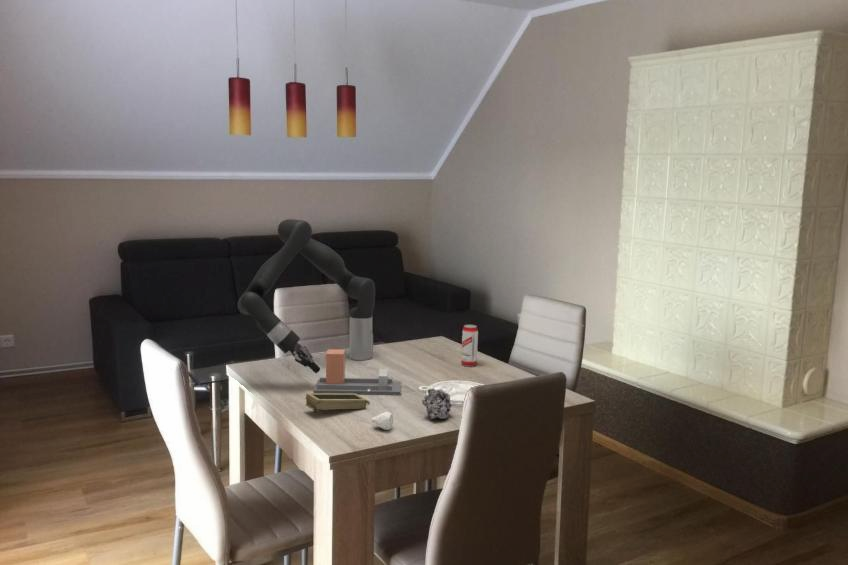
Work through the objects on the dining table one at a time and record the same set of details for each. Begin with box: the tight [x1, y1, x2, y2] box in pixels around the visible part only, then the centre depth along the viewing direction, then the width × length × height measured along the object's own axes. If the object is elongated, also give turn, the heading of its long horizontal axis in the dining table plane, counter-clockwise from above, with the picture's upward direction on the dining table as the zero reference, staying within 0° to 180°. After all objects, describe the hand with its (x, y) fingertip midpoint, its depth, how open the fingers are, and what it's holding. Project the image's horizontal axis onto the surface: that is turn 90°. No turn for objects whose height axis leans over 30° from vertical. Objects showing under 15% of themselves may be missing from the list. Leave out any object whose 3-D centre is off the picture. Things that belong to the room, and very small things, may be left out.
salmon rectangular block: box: [325, 348, 346, 384], centre depth 254 cm, size 6×6×12 cm
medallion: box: [418, 379, 484, 408], centre depth 252 cm, size 24×27×2 cm
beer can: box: [460, 324, 479, 368], centre depth 288 cm, size 6×6×16 cm
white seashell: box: [371, 411, 394, 431], centre depth 218 cm, size 6×6×5 cm
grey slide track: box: [313, 368, 402, 396], centre depth 255 cm, size 30×12×6 cm, turn 92°
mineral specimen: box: [421, 389, 453, 421], centre depth 230 cm, size 13×10×11 cm
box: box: [305, 392, 371, 412], centre depth 234 cm, size 8×22×5 cm, turn 127°
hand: (318, 371), depth 254 cm, fingers closed
